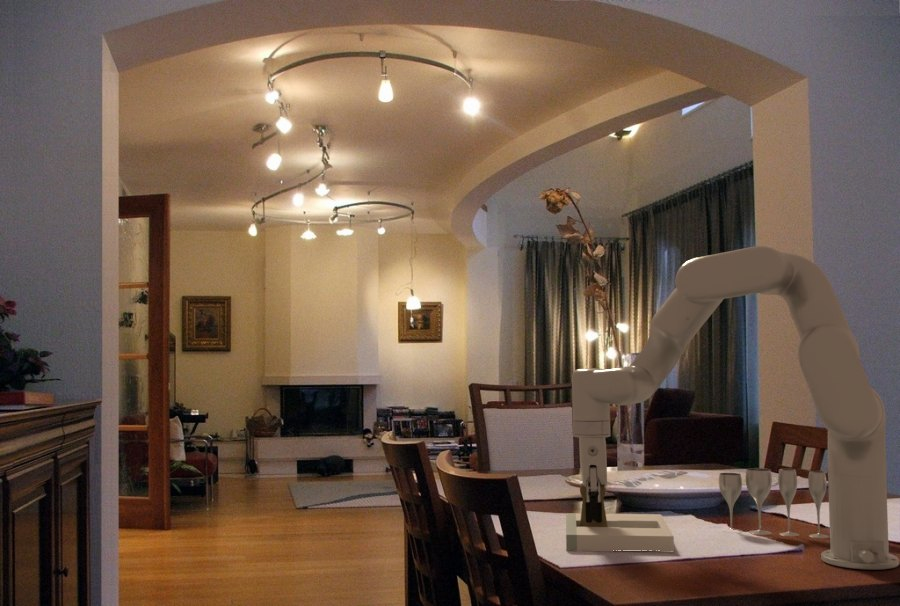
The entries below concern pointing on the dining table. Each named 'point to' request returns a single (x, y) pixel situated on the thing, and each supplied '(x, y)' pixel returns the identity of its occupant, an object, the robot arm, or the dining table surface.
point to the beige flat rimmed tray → (620, 533)
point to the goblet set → (761, 486)
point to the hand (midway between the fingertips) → (593, 519)
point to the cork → (583, 512)
